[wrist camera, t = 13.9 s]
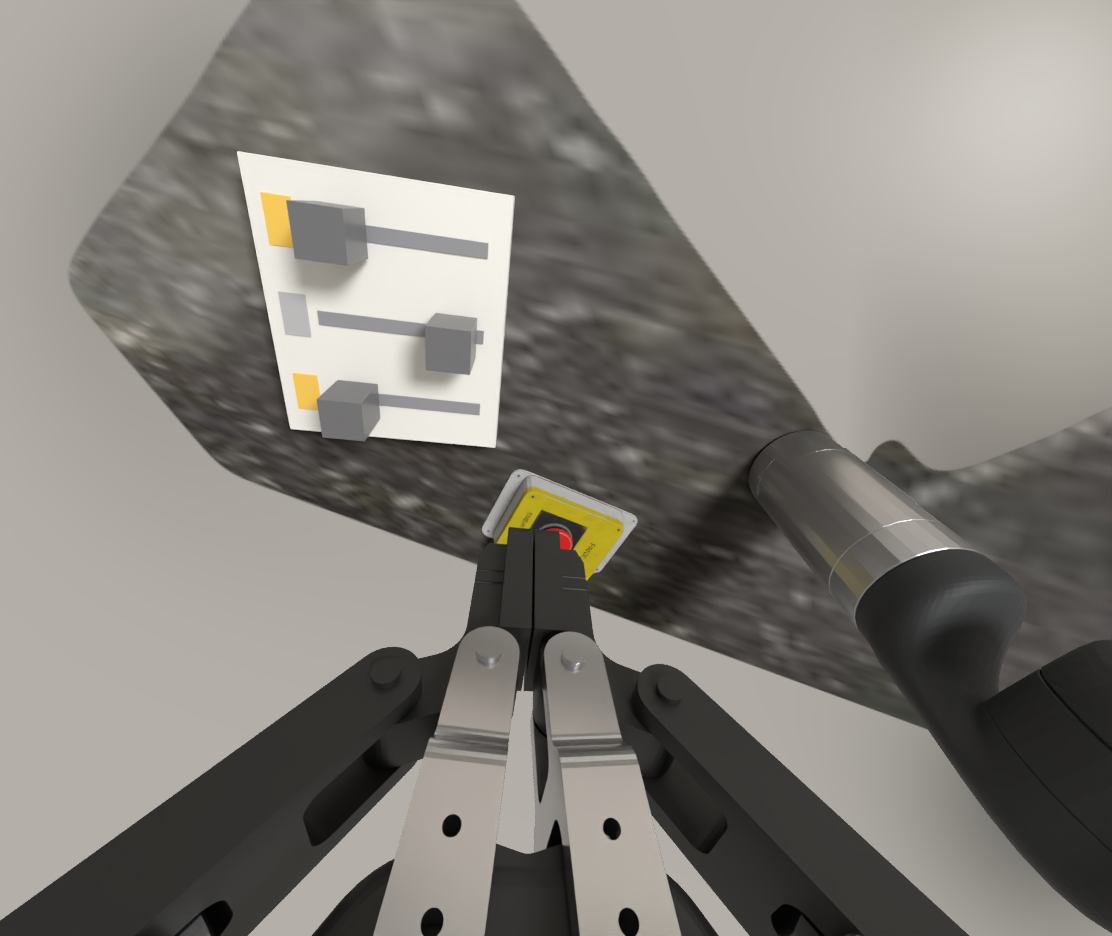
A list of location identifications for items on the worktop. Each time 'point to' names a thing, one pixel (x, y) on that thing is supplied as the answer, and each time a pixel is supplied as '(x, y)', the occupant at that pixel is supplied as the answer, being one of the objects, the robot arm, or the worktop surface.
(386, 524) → the worktop surface
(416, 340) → the switch panel
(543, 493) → the emergency button
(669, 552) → the worktop surface
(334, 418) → the switch
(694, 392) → the worktop surface
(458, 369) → the switch
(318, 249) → the switch
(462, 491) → the worktop surface
